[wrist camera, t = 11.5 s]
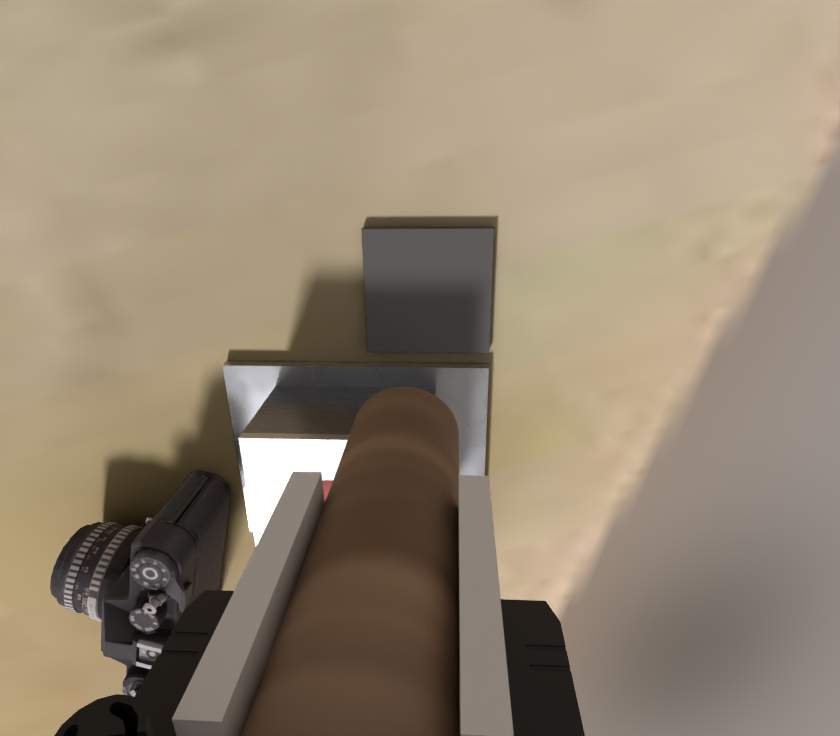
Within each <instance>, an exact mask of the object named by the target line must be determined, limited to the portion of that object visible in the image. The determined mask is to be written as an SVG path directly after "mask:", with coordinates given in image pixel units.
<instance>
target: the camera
mask: <svg viewBox="0 0 840 736" xmlns="http://www.w3.org/2000/svg"><path fill="white" fill-rule="evenodd" d="M229 505H230V487H229V485H228V484H227V482H226V481H225V480H224V479H222V478H221V477H220V476H218V475H216V474H211V473H207V472H204V471H196V472H191V474H188V476H187V478H186V479H185V481H184V482H183V483H182V485H181V486H180V487H179V488H178V489H177V490H176V491H175V493H174V494H173V495H172V496H171V498H170V499H169V500H168V501H167V502H166V504H165V505H164V506H163V507H162V508H161V509H160V511H159V512H158V513H157V514H156V515H155V517H154V518H147V519H146V522H145V523H146V524H147V525H146V526H145V527H142V526H137V525H129V526H122V525H121V524H118V523H114V522H105V523H101V522H98V523H94V524H92V525H86V526H84V527H82V528H80V529H79V530H78V531H77V532H76V533H75V534H74V535H73V536H72V537H71V538H70V540H69V541H68V543H67V544H66V545H65V546H64V547H63V549H62V551H61V553H60V555H59V557H58V559H57V561H56V564H55V566H54V568H53V572H52V576H51V585H50V589H51V593H52V595H53V596H54V597H55V598H57V601H58V603H59V604H61V605H62V606H65V607H66V608H67V609H68V610H69V611H72V612H77V613H82V612H83V613H84V614H86V615H89V616H90V618H92V619H93V620H97V621H102V626H101V650H102V652H103V655H104V656H106V657H110V658H112V659H115V660H117V661H119V662H121V663H123V664H125V665H127V675H126V677H125V679H124V681H123V693H124V694H125V695H131V696H133V697H134V696H135V695H136V693H137V691H138V689H139V688H140V686H141V684H142V683H143V681H144V679H145V677H146V676H147V674H148V672H149V670H150V669H151V667H152V665H153V663H154V662H155V660H156V658H157V656H158V655H160V654H161V649H162V648H163V646H164V644H165V642H166V641H167V639H168V637H169V636H171V635H172V630H173V629H174V627H175V625H176V623H177V622H178V620H179V618H180V616H181V615H182V613H183V611H184V609H185V608H186V607H187V606H189V605H190V604H191V603H192V602H193V601H194V600H195V599H196V598H197V597H198V596H199V595H200V594H202V593H203V592H204V591H205V590H217V591H219V586H220V578H221V569H222V561H223V555H224V547H225V539H226V531H227V522H228V514H229ZM149 521H150V522H149Z"/></svg>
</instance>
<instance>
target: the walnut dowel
mask: <svg viewBox="0 0 840 736" xmlns="http://www.w3.org/2000/svg"><path fill="white" fill-rule="evenodd" d="M458 487H459V430H458V425H457V422H456V419H455V417H454V415H453V413H452V411H451V410H450V409H449V407H448V406H447V405H446V404H445V403H444V402H443V401H442V400H441V399H439V398H438V397H437V396H435V395H433V394H432V393H429V392H427V391H425V390H422V389H418V388H413V387H394V388H389V389H386V390H383V391H381V392H379V393H377V394H375V395H373V396H372V397H371V398H369V399H368V400H367V401H366V402H365V403H364V404H363V405H362V407H361V408H360V410H359V411H358V413H357V415H356V418H355V421H354V423H353V426H352V429H351V432H350V435H349V437H348V440H347V443H346V446H345V448H344V451H343V454H342V457H341V460H340V462H339V465H338V468H337V471H336V473H335V476H334V479H333V482H332V485H331V487H330V490H329V493H328V496H327V498H326V501H325V504H324V507H323V510H322V512H321V515H320V518H319V521H318V523H317V526H316V529H315V532H314V534H313V537H312V540H311V543H310V546H309V548H308V551H307V554H306V557H305V559H304V562H303V565H302V568H301V571H300V573H299V576H298V579H297V582H296V584H295V587H294V590H293V593H292V596H291V598H290V601H289V604H288V607H287V609H286V612H285V615H284V618H283V621H282V623H281V626H280V629H279V632H278V634H277V637H276V640H275V643H274V646H273V648H272V651H271V654H270V657H269V659H268V662H267V665H266V668H265V671H264V673H263V676H262V679H261V682H260V684H259V687H258V690H257V693H256V696H255V698H254V701H253V704H252V707H251V709H250V712H249V715H248V718H247V721H246V723H245V726H244V729H243V732H242V734H241V736H459V574H458Z"/></svg>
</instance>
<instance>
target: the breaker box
mask: <svg viewBox="0 0 840 736" xmlns="http://www.w3.org/2000/svg"><path fill="white" fill-rule="evenodd" d="M222 367H223V373H224V379H225V385H226V391H227V397H228V403H229V409H230V415H231V421H232V427H233V433H234V439H235V445H236V451H237V457H238V463H239V469H240V475H241V481H242V487H243V493H244V499H245V505H246V511H247V517H248V523H249V529H250V531H254V537H255V543H256V546H257V543H258V541H259V539H260V537H261V535H262V533H263V531H264V529H265V527H266V525H267V523H268V521H269V519H270V517H271V515H272V513H273V511H274V509H275V507H276V505H277V502H278V500H279V498H280V496H281V494H282V492H283V490H284V488H285V486H286V484H287V482H288V480H289V478H290V476H291V474H292V472H293V471H300V472H322V480H333V479H334V476H335V473H336V471H337V468H338V465H339V462H340V460H341V457H342V454H343V451H344V448H345V446H346V443H347V440H348V437H349V435H350V432H351V429H352V426H353V423H354V421H355V418H356V415H357V413H358V411H359V410H360V408H361V407H362V405H363V404H364V403H365V402H366V401H367V400H368V399H369V398H371V397H372V396H373V395H375V394H377V393H379V392H381V391H383V390H386V389H389V388H394V387H413V388H418V389H422V390H425V391H427V392H429V393H432V394H433V395H435V396H437V397H438V398H439V399H441V400H442V401H443V402H444V403H445V404H446V405H447V406H448V407H449V409H450V410H451V411H452V413H453V415H454V417H455V419H456V422H457V425H458V430H459V475H473V476H485V454H486V428H487V403H488V377H489V366H488V364H463V363H368V362H272V361H226V362H225V363H224V364H223V365H222Z"/></svg>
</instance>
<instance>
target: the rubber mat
mask: <svg viewBox="0 0 840 736" xmlns="http://www.w3.org/2000/svg"><path fill="white" fill-rule="evenodd" d="M493 243H494V227H418V228H362V247H363V266H364V284H365V303H366V322H367V340H368V352H417V353H489V346H490V320H491V295H492V269H493Z"/></svg>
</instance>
